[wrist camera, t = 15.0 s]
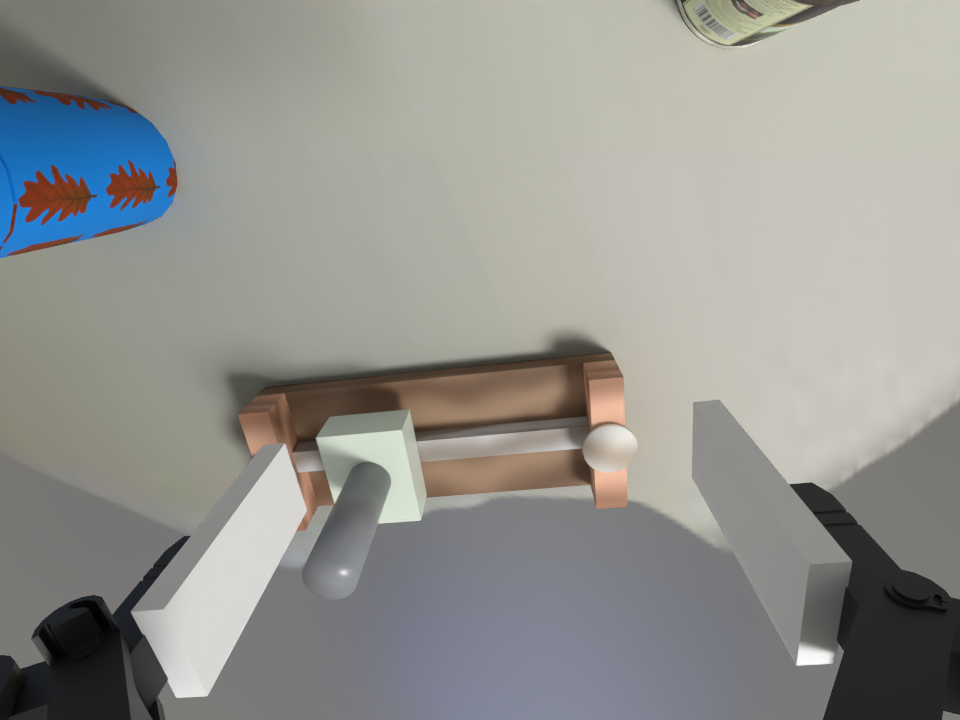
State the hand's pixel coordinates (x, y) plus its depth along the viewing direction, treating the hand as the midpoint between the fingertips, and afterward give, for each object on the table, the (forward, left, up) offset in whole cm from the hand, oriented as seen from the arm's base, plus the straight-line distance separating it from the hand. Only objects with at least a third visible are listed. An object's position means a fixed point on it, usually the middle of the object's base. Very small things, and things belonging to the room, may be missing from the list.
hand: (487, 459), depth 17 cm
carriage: (+18, -14, -30) cm, 38 cm away
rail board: (+18, -8, -34) cm, 40 cm away
